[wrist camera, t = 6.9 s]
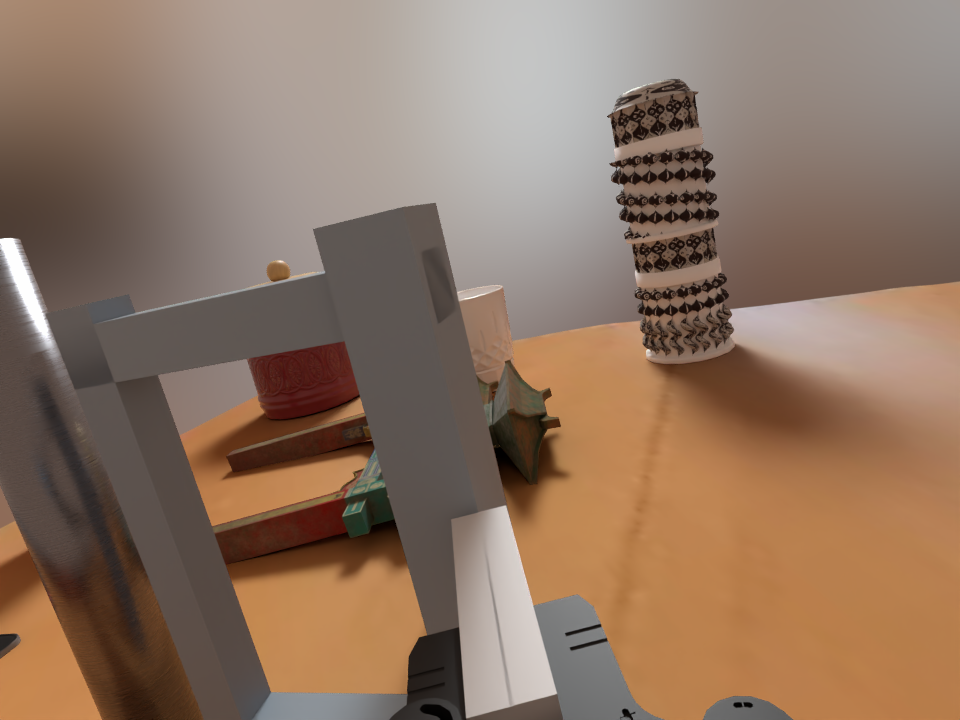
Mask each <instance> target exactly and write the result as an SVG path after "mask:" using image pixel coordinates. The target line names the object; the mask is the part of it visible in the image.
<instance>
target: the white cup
mask: <svg viewBox="0 0 960 720" xmlns="http://www.w3.org/2000/svg"><path fill="white" fill-rule="evenodd" d="M457 295H458V300H459V304H460V308H461V312H462V317H463V321H464V325H465V329H466V334H467V338H468V342H469V346H470V351H471V355H472V359H473V363H474V368H475V372H476V375H477V376H478V377H479V378H480V379H481V380H482V381H484V382H485V383H487V384H489V383H492V382H494V381H497V380H498V383H499V382H500V379H501V376H502V372H503V369H504V366H505V361H507V360H511V363H512V364H513V366H514V358H513V354H514V352H513V348H512V338H511V335H510V325H509V320H508V314H507V308H506V302H505V296H504V290H503V286H501V285H492V286H484V287H479V288H474V289H468V290H464V291H460V292H457ZM514 367H515V366H514ZM497 389H498V388H497ZM497 389H495V390H494V391H497ZM494 391H493V392H494Z"/></svg>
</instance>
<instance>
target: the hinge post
mask: <svg viewBox="0 0 960 720" xmlns="http://www.w3.org/2000/svg"><path fill="white" fill-rule="evenodd" d="M46 313H48V310H47V308H46V306H45V303H44V300H43V298H42V295H41V292H40V290H39V287H38V285H37V282H36V280H35V277H34V274H33V272H32V269H31V267H30V264H29V262H28V259H27V256H26V254H25V252H24V249H23V246H22V244H21V241H20V239H17V238H8V239H0V486H1V489H2V491H3V493H4V496H5V498H6V500H7V502H8V505H9V507H10V509H11V512H12V514H13V516H14V518H15V521H16V523H17V525H18V528H19V530H20V532H21V534H22V537H23V539H24V541H25V544H26V546H27V548H28V551H29V553H30V555H31V557H32V560H33V562H34V564H35V567H36V569H37V571H38V573H39V576H40V578H41V580H42V583H43V585H44V587H45V589H46V592H47V594H48V596H49V599H50V601H51V603H52V606H53V608H54V610H55V612H56V615H57V617H58V619H59V622H60V624H61V626H62V628H63V631H64V633H65V635H66V638H67V640H68V642H69V644H70V647H71V649H72V651H73V654H74V656H75V658H76V661H77V663H78V665H79V667H80V670H81V672H82V674H83V677H84V679H85V681H86V683H87V686H88V688H89V690H90V693H91V695H92V697H93V700H94V702H95V704H96V706H97V709H98V711H99V713H100V716H101V718H102V720H204V719H203V716H202V713H201V711H200V708H199V706H198V703H197V701H196V698H195V696H194V693H193V690H192V688H191V685H190V683H189V680H188V678H187V675H186V673H185V670H184V667H183V665H182V662H181V660H180V657H179V655H178V652H177V650H176V647H175V645H174V642H173V639H172V637H171V634H170V632H169V629H168V627H167V624H166V622H165V619H164V616H163V614H162V611H161V609H160V606H159V604H158V601H157V599H156V596H155V593H154V591H153V588H152V586H151V583H150V581H149V578H148V576H147V573H146V570H145V568H144V565H143V563H142V560H141V558H140V555H139V553H138V550H137V547H136V545H135V542H134V540H133V537H132V535H131V532H130V530H129V527H128V524H127V522H126V519H125V517H124V514H123V512H122V509H121V507H120V504H119V501H118V499H117V496H116V494H115V491H114V489H113V486H112V484H111V481H110V478H109V476H108V473H107V471H106V468H105V466H104V463H103V461H102V458H101V455H100V453H99V450H98V448H97V445H96V443H95V440H94V438H93V435H92V432H91V430H90V427H89V425H88V422H87V420H86V417H85V415H84V412H83V409H82V407H81V404H80V402H79V399H78V397H77V394H76V392H75V389H74V386H73V384H72V381H71V379H70V376H69V374H68V371H67V369H66V366H65V364H64V361H63V358H62V356H61V353H60V351H59V348H58V346H57V343H56V341H55V338H54V335H53V333H52V330H51V328H50V325H49V323H48V320H47V318H46V315H45V314H46Z"/></svg>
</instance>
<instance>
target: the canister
mask: <svg viewBox="0 0 960 720" xmlns="http://www.w3.org/2000/svg"><path fill="white" fill-rule="evenodd" d="M314 273H317V272H310V273H305V274H301V275H297V276H292V277H290V269H289V267H288V265H287V264H286V263H285V262H284V261H281V260H276V261H273V262H271V263H270V264H269V265H268V267H267V275H268V277H269V279H270V280H271V282H267V283H263V284H259V285H264V284H268V283H273V282H278V281H282V280H287V279H291V278H296V277H300V276H305V275H309V274H314ZM259 285H256V286H259ZM252 287H255V286H252ZM249 288H250V287H249ZM247 361H248V364H249V368H250V370H251V374H252V377H253V380H254V383H255V386H256V389H257V392H258V401H259V402H260V407H261V408H262V409H263V411H264V413H265V415H266V417H268V418H270V419H289V418H295V417H301V416H305V415H309V414H313V413H317V412H320V411H323V410H327V409H330V408H332V407H335V406H338V405H340V404H343V403H345V402H347V401H349V400H351V399H353V398H355V397H357V396H358V395H360V394H359V390H358V387H357V383H356V380H355V376H354V373H353V369H352V366H351V362H350V359H349V355H348V351H347V348H346V344H345V341H343V342H337V343H332V344H326V345H321V346H315V347H310V348H304V349H298V350H293V351H287V352H282V353H276V354H271V355H265V356H260V357H254V358H249V359H247Z"/></svg>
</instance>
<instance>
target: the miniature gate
mask: <svg viewBox="0 0 960 720" xmlns="http://www.w3.org/2000/svg"><path fill="white" fill-rule="evenodd" d="M476 376H477V375H476ZM477 380H478V385H479V389H480V393H481V397H482V402H483V406H484V410H485V414H486V419H487V423H488V427H489V431H490V436H491V440H492V444H493V446H495V445H496V447H499V445H500V446H501V448H502V449H503V450H504V451H505V453H506V454H507V455H508V457H509V458H510V459H511V460H512V462H513V463H514V464H515V466H516V467H517V468H518V469H519V471H520V472H521V473H522V474H523V476H524V477H525V478H526V480H527V481H528V482H529V483H530V485H533V484H537V477H538V459H539V450H540V447H541V444H542V440H543V437H544V435H545V433H546V431H547V429H550V428H556V427H561V425H560V422H559V418H558V417H549V416H548V415H547V411H546V407H545V404H544V402H545V400H546V399H547V398H549V397H551V396H552V394H551V391H550V388H547V389H545V390H542V391H537V390H535V389H533V388H532V387H530V386H529V385H528V384H527V383H526V382H525V381H524V380H522V378H521V377H520V375H519V374H518V372H517V371H516V369H515V367H514V366H513V364H512V363H511V360H507V361H505V366H504V369H503V372H502V376H501V379H500V382H499V383H498V380H497V381H494V382H492V383H489V384H487V383H485V382H484V381H482V380H481V379H480V378H479V377H478V376H477ZM497 388H498V389H497ZM495 389H497V392H496V395H495V398H494V401H493V400H492V392H493V391H494V390H495ZM370 439H372V437H371V433H370V429H369V426H368V422H367V419H366V415H365V413H362V414H358V415H355V416H351V417H348V418H344V419H341V420H337V421H334V422H330V423H327V424H323V425H320V426H316V427H313V428H310V429H306V430H303V431H299V432H296V433H292V434H289V435H285V436H282V437H278V438H275V439H271V440H268V441H264V442H261V443H257V444H254V445H250V446H247V447H243V448H240V449H237V450H233V451H231V452H230V453H229V454H228V455H227V456H226V457H227V459H228V461H229V464H230V466H231V468H232V471H233V472H236V471H241V470H246V469H251V468H256V467H261V466H265V465H270V464H275V463H280V462H285V461H290V460H295V459H299V458H304V457H309V456H314V455H317V454H321V453H324V452H328V451H331V450H335V449H338V448H342V447H345V446H349V445H353V444H356V443H360V442H363V441H367V440H370ZM353 474H354V477H355V478H354V479H352V480H351V481H349V482H347V483H346V484H344V485H343V486H342V487H341V489H340V490H339V491H336V492H333V493H331V494H328V495H324V496H321V497H317V498H313V499H310V500H306V501H303V502H299V503H295V504H292V505H288V506H284V507H281V508H277V509H274V510H270V511H266V512H263V513H259V514H255V515H252V516H248V517H245V518H241V519H237V520H234V521H230V522H227V523H223V524H219V525H216V526H212V529H213V531H214V534H215V537H216V540H217V543H218V545H219V548H220V551H221V554H222V557H223V559H224V562H225V564H230V563H234V562H237V561H241V560H245V559H248V558H252V557H256V556H260V555H263V554H267V553H271V552H274V551H278V550H282V549H286V548H289V547H293V546H297V545H300V544H304V543H308V542H312V541H315V540H319V539H323V538H326V537H330V536H334V535H338V534H341V533H345V532H348V534H349V536H350V538H352V537H356V536H360V535H364V534H367V533H369V531H370V529H371V526H372V525H375V524H378V523H382V522H386V521H390V520H393V519H395V518H394V514H393V511H392V507H391V504H390V500H389V497H388V493H387V490H386V486H385V483H384V479H383V475H382V472H381V468H380V465H379V461H378V458H377V454H376V451H375V449H374V451H373V453H372V455H371V457H370V459H369V460H368V462H367V464H366V466H365V468H364V469H361V470H358V471H355V472H353Z"/></svg>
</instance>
